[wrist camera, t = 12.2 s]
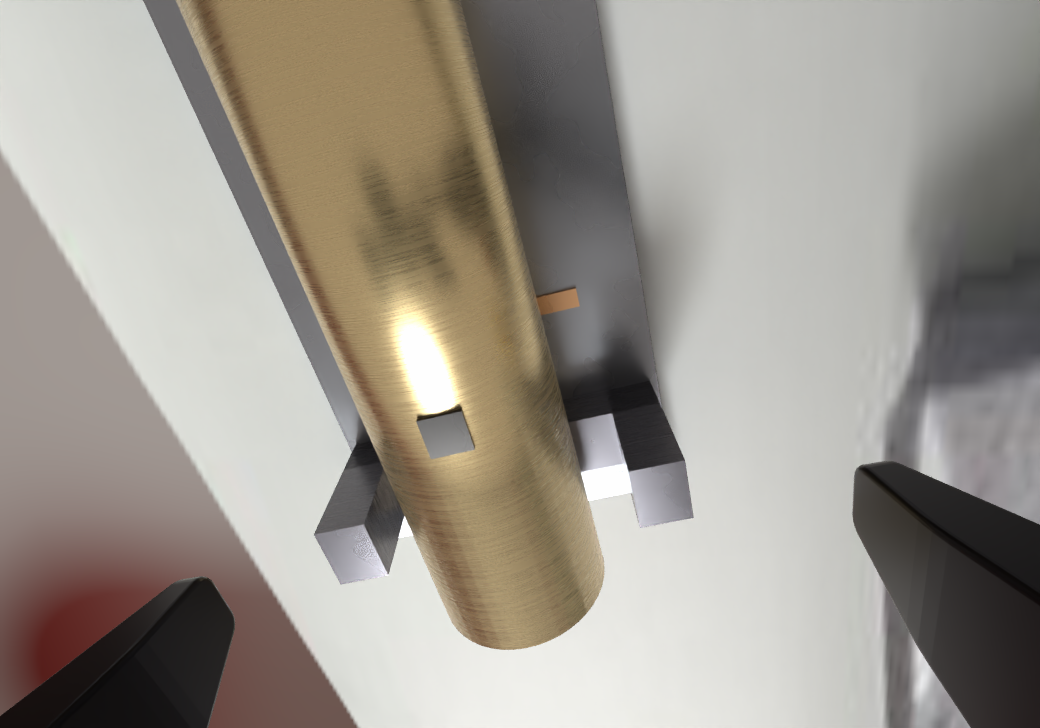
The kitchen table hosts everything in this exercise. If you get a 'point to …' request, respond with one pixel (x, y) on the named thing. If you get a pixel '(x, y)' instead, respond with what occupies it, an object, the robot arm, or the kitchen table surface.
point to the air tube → (417, 288)
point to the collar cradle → (550, 256)
